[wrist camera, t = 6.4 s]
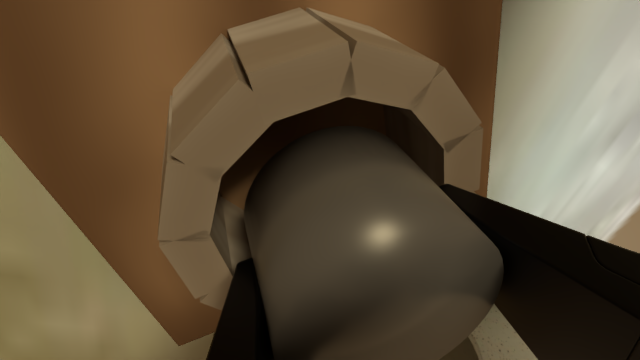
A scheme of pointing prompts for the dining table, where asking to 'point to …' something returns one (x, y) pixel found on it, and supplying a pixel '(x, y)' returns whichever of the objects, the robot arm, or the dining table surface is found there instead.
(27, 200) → the dining table surface
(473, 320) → the smooth gray stone
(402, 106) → the brown board with ring
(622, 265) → the robot arm
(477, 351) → the ceramic mug
